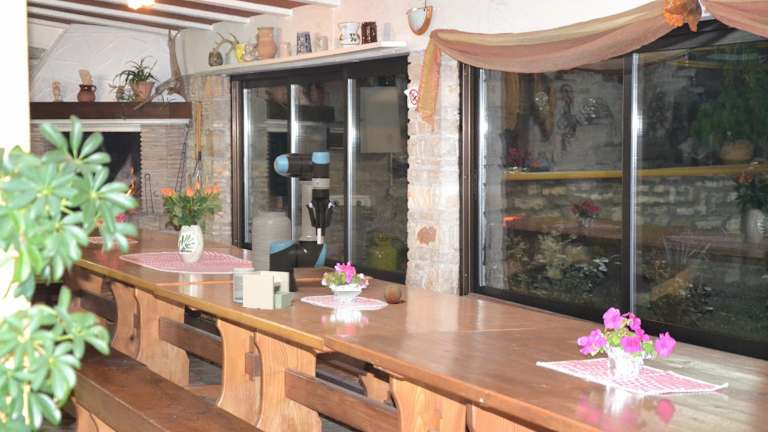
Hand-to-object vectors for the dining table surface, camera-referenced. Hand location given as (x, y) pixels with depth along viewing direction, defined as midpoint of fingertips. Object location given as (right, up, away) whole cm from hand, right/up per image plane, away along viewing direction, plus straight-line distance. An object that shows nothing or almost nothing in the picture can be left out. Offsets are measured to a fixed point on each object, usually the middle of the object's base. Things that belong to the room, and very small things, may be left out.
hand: (320, 243), depth 450 cm
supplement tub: (-34, -26, +7) cm, 43 cm away
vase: (-31, -20, +98) cm, 105 cm away
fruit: (+31, -26, +10) cm, 42 cm away
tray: (-20, -27, -5) cm, 34 cm away
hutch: (-23, -26, -3) cm, 35 cm away
